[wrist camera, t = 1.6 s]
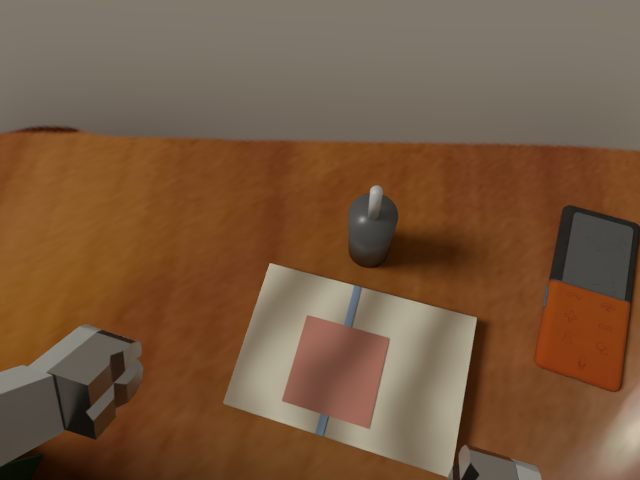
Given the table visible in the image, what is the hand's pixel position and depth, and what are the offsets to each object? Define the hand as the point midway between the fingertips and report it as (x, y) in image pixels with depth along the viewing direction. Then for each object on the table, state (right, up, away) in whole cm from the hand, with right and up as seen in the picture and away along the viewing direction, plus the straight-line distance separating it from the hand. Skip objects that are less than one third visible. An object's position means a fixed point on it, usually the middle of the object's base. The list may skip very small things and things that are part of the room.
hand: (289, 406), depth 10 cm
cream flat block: (+3, -6, +24) cm, 25 cm away
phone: (+24, -1, +25) cm, 35 cm away
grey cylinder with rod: (+5, +3, +27) cm, 28 cm away
